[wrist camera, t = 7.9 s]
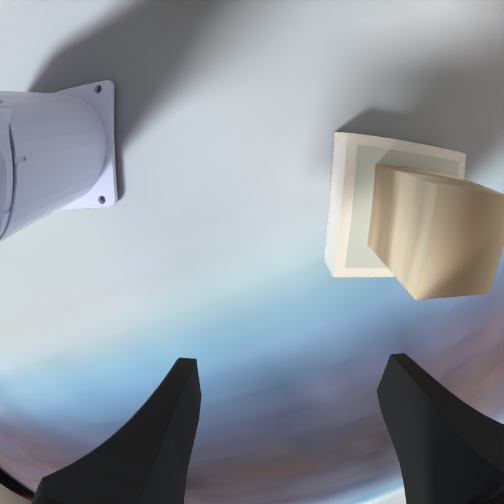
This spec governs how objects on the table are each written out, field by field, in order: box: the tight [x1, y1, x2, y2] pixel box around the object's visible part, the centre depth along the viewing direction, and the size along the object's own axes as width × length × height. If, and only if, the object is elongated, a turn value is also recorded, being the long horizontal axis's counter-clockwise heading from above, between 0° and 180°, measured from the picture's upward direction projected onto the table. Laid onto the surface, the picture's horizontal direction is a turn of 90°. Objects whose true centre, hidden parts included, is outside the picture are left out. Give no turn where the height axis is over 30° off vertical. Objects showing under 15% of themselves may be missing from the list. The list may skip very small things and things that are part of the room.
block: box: [367, 164, 504, 300], centre depth 13 cm, size 4×4×6 cm
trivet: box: [324, 132, 466, 277], centre depth 17 cm, size 8×8×2 cm
